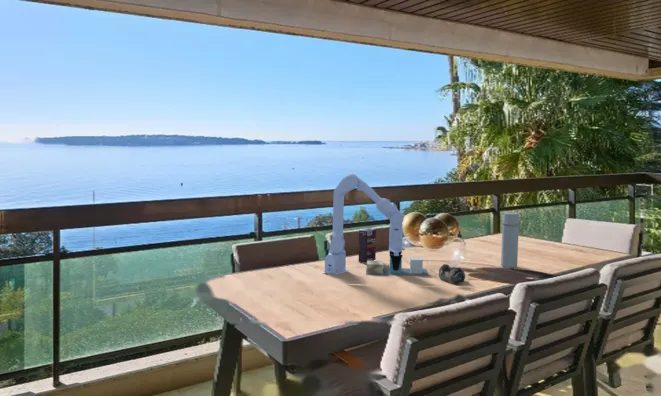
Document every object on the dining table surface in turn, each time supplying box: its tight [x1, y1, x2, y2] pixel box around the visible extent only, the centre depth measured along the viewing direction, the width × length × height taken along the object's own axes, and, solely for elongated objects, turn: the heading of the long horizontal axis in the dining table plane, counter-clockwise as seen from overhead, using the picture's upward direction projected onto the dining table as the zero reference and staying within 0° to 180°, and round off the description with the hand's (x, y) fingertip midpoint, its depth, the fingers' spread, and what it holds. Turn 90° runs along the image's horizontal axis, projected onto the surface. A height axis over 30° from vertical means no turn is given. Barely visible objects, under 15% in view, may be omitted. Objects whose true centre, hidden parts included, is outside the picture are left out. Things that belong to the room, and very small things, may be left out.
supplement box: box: [358, 227, 377, 264], centre depth 243 cm, size 9×5×16 cm, turn 143°
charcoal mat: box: [365, 267, 430, 277], centre depth 223 cm, size 27×13×1 cm, turn 85°
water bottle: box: [500, 212, 520, 269], centre depth 234 cm, size 9×8×25 cm
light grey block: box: [409, 256, 424, 274], centre depth 222 cm, size 5×5×6 cm
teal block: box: [389, 257, 403, 273], centre depth 223 cm, size 5×5×6 cm
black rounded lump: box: [438, 263, 466, 285], centre depth 207 cm, size 12×7×10 cm
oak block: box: [366, 260, 384, 274], centre depth 223 cm, size 7×7×4 cm
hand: (395, 268), depth 223 cm, fingers closed on teal block, 5 cm apart
